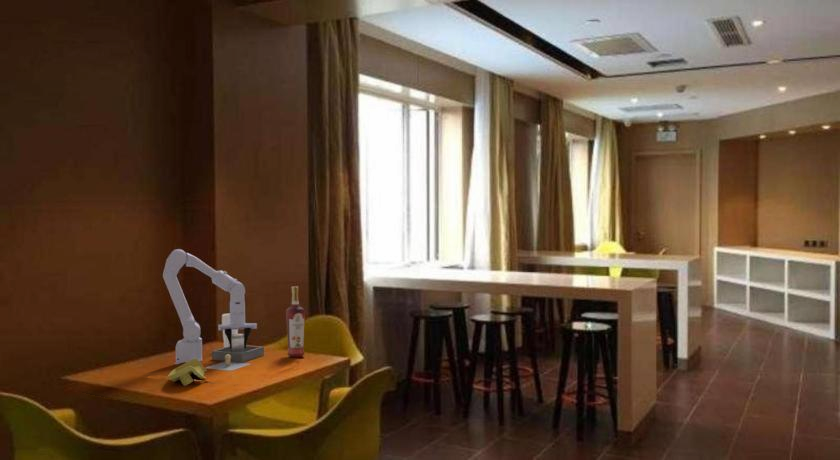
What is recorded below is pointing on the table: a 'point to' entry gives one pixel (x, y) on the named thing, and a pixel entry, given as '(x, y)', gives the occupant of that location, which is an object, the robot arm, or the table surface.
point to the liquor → (295, 327)
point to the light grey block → (238, 343)
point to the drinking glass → (224, 321)
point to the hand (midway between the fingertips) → (238, 347)
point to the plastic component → (187, 372)
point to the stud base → (223, 366)
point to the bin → (238, 354)
